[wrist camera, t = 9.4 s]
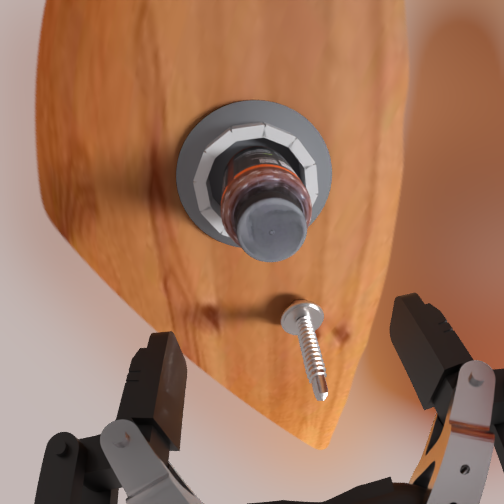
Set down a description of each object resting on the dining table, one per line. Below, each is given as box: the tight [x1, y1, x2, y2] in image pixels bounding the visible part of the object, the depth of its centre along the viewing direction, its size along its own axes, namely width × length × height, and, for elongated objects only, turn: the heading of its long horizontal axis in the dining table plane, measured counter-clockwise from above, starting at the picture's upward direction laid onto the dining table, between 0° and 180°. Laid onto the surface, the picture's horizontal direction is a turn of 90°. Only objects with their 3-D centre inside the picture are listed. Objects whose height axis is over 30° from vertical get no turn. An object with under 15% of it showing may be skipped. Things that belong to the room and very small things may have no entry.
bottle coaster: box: [176, 100, 332, 247], centre depth 26 cm, size 14×14×3 cm
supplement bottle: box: [221, 146, 312, 262], centre depth 22 cm, size 6×6×11 cm
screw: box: [281, 300, 328, 401], centre depth 30 cm, size 13×5×5 cm
